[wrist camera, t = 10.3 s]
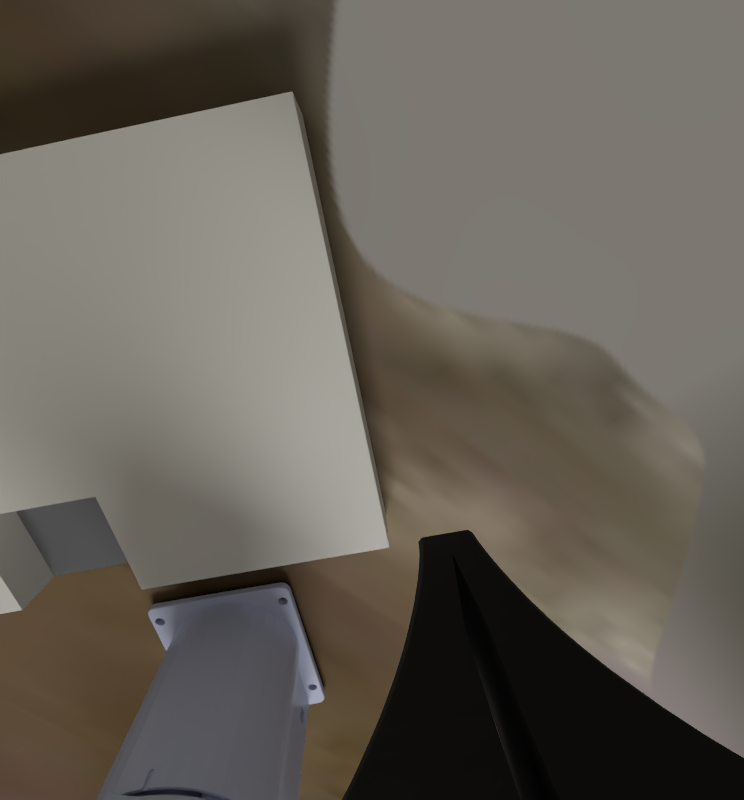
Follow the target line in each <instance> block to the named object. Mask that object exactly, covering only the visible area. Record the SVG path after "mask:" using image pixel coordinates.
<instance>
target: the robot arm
mask: <svg viewBox="0 0 744 800" xmlns="http://www.w3.org/2000/svg"><path fill="white" fill-rule="evenodd" d="M419 550H420V561H419V574H418V582H417V589H416V595H415V602H414V607H413V612H412V616H411V620H410V625H409V629H408V633H407V638H406V641H405V645H404V649H403V652H402V656H401V659H400V662H399V665H398V668H397V672H396V675H395V678H394V681H393V683H392V686H391V689H390V692H389V695H388V697H387V700H386V703H385V706H384V708H383V711H382V713H381V716H380V718H379V721H378V723H377V726H376V728H375V730H374V733H373V735H372V737H371V739H370V742H369V744H368V746H367V748H366V751H365V753H364V755H363V757H362V760H361V762H360V764H359V766H358V769H357V771H356V773H355V775H354V777H353V779H352V781H351V783H350V785H349V787H348V789H347V791H346V793H345V795H344V797H343V799H342V800H744V758H743V757H741V756H739V755H738V754H736V753H734V752H732V751H731V750H729V749H727V748H726V747H724V746H722V745H721V744H719V743H717V742H715V741H714V740H712V739H711V738H709V737H707V736H706V735H704V734H703V733H701V732H700V731H698V730H697V729H695V728H694V727H692V726H691V725H689V724H687V723H686V722H684V721H683V720H681V719H680V718H678V717H677V716H675V715H674V714H672V713H671V712H669V711H668V710H666V709H665V708H663V707H662V706H660V705H659V704H657V703H656V702H655V701H653V700H652V699H650V698H649V697H648V696H646V695H645V694H644V693H642V692H641V691H639V690H638V689H637V688H635V687H634V686H632V685H631V684H630V683H628V682H627V681H625V680H624V679H623V678H621V677H620V676H618V675H617V674H616V673H614V672H613V671H611V670H610V669H609V668H608V667H606V666H605V665H604V664H603V663H601V662H600V661H599V660H597V659H596V658H595V657H594V656H592V655H591V654H590V653H589V652H587V651H586V650H585V649H584V648H582V647H581V646H580V645H579V644H578V643H577V642H575V641H574V640H573V639H572V638H571V637H569V636H568V635H567V634H566V633H565V632H564V631H562V630H561V629H560V628H559V627H558V626H557V625H556V624H555V623H554V622H552V621H551V620H550V619H549V618H548V617H547V616H546V615H545V614H544V613H543V612H542V611H541V610H540V609H539V608H538V607H537V606H536V605H535V604H533V603H532V602H531V601H530V600H529V599H528V598H527V597H526V596H525V595H524V593H523V592H522V591H521V590H520V589H519V588H518V587H517V586H516V585H515V584H514V583H513V582H512V581H511V580H510V579H509V578H508V576H507V575H506V574H505V573H504V572H503V571H502V570H501V569H500V568H499V566H498V565H497V564H496V563H495V562H494V561H493V559H492V558H491V557H490V556H489V555H488V553H487V552H486V551H485V549H484V548H483V547H482V546H481V544H480V543H479V542H478V540H477V539H476V537H475V536H474V534H473V533H472V532H470V531H469V530H464V531H458V532H453V533H447V534H441V535H435V536H429V537H423V538H422V539H421V540H420V541H419ZM282 598H286V599H282ZM148 616H149V618H150V620H151V622H152V624H153V626H154V628H155V630H156V632H157V634H158V636H159V638H160V640H161V642H162V644H163V645H164V647H165V649H166V651H167V652H166V654H165V656H164V658H163V660H162V662H161V664H160V666H159V668H158V670H157V673H156V675H155V677H154V679H153V681H152V683H151V685H150V687H149V689H148V691H147V694H146V696H145V698H144V700H143V702H142V704H141V706H140V708H139V710H138V712H137V715H136V717H135V719H134V721H133V723H132V725H131V727H130V729H129V731H128V734H127V736H126V738H125V740H124V742H123V744H122V746H121V748H120V750H119V752H118V755H117V757H116V759H115V761H114V763H113V765H112V767H111V769H110V771H109V773H108V776H107V778H106V780H105V782H104V784H103V786H102V788H101V790H100V792H99V794H98V797H97V799H96V800H298V799H299V790H300V781H301V772H302V762H303V753H304V744H305V735H306V726H307V717H308V708H309V704H315V703H320V702H322V701H323V700H324V698H325V690H324V687H323V684H322V681H321V678H320V675H319V672H318V669H317V666H316V663H315V660H314V657H313V654H312V651H311V648H310V645H309V642H308V639H307V636H306V633H305V630H304V627H303V624H302V621H301V618H300V615H299V612H298V609H297V606H296V603H295V600H294V597H293V594H292V591H291V588H290V587H289V585H287V584H286V583H274V584H268V585H262V586H256V587H250V588H244V589H238V590H232V591H226V592H221V593H215V594H209V595H203V596H197V597H191V598H185V599H179V600H173V601H167V602H161V603H156V604H153V605H152V606H151V608H150V609H149V611H148ZM490 709H491V710H490ZM491 712H492V713H491ZM492 715H493V716H492ZM493 718H494V719H493ZM494 721H495V722H494ZM495 724H496V725H495ZM496 726H497V728H496ZM497 730H498V731H497ZM498 733H499V734H498ZM499 736H500V737H499ZM500 739H501V740H500ZM501 742H502V743H501ZM502 745H503V746H502ZM503 749H504V750H503ZM504 752H505V753H504Z"/></svg>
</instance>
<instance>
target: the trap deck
mask: <svg viewBox="0 0 744 800" xmlns="http://www.w3.org/2000/svg"><path fill="white" fill-rule="evenodd" d="M383 548H389V539H388V529H387V519H386V512H385V507H384V502H383V498H382V493H381V488H380V483H379V478H378V474H377V469H376V464H375V459H374V455H373V450H372V445H371V440H370V435H369V431H368V426H367V421H366V416H365V411H364V407H363V402H362V397H361V392H360V387H359V383H358V378H357V373H356V368H355V364H354V359H353V354H352V349H351V344H350V340H349V335H348V330H347V325H346V320H345V316H344V311H343V306H342V301H341V296H340V292H339V287H338V282H337V277H336V273H335V268H334V263H333V258H332V253H331V249H330V244H329V239H328V234H327V229H326V225H325V220H324V215H323V210H322V205H321V201H320V196H319V191H318V186H317V182H316V177H315V172H314V167H313V162H312V158H311V153H310V148H309V143H308V138H307V134H306V129H305V124H304V119H303V115H302V112H301V110H300V108H299V106H298V103H297V101H296V99H295V96H294V94H293V92H287V93H282V94H278V95H273V96H269V97H264V98H259V99H255V100H250V101H245V102H241V103H236V104H231V105H227V106H222V107H217V108H213V109H208V110H204V111H199V112H194V113H190V114H185V115H180V116H176V117H171V118H166V119H162V120H157V121H153V122H148V123H143V124H139V125H134V126H129V127H125V128H120V129H115V130H111V131H106V132H102V133H97V134H92V135H88V136H83V137H78V138H74V139H69V140H64V141H60V142H55V143H50V144H46V145H41V146H37V147H32V148H27V149H23V150H18V151H13V152H9V153H4V154H0V614H2V613H8V612H14V611H20V610H23V609H24V608H25V607H26V606H27V605H28V603H29V602H30V601H31V600H32V599H33V598H34V597H35V596H36V595H37V594H38V593H39V592H40V590H41V589H42V588H43V587H44V586H45V585H46V584H47V583H48V582H49V581H50V580H51V579H52V578H53V576H56V575H62V574H68V573H73V572H79V571H85V570H91V569H97V568H102V567H108V566H114V565H120V564H125V563H129V565H130V567H131V569H132V571H133V573H134V575H135V577H136V579H137V581H138V583H139V585H140V587H141V589H142V590H143V589H149V588H155V587H161V586H166V585H172V584H178V583H184V582H190V581H196V580H202V579H207V578H213V577H219V576H225V575H231V574H237V573H243V572H248V571H254V570H260V569H266V568H272V567H278V566H284V565H289V564H295V563H301V562H307V561H313V560H319V559H325V558H330V557H336V556H342V555H348V554H354V553H360V552H366V551H371V550H377V549H383Z"/></svg>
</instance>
